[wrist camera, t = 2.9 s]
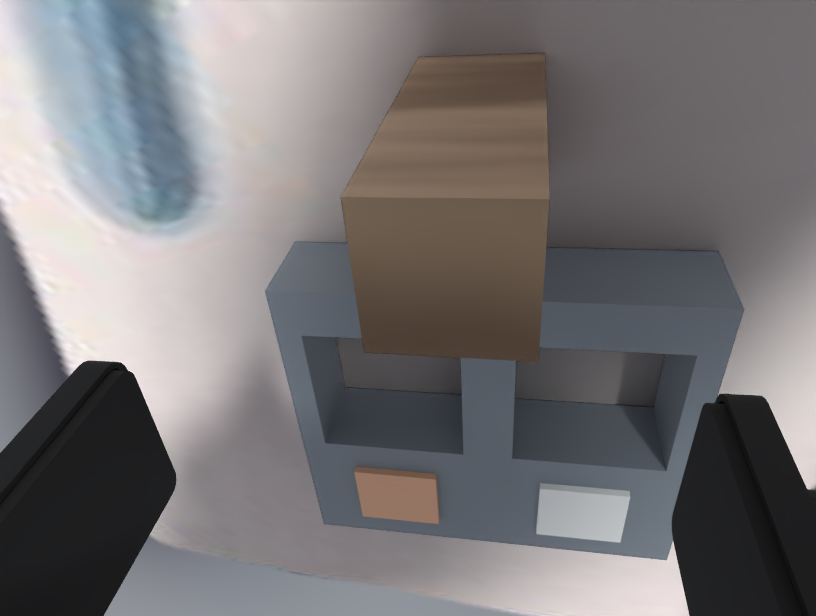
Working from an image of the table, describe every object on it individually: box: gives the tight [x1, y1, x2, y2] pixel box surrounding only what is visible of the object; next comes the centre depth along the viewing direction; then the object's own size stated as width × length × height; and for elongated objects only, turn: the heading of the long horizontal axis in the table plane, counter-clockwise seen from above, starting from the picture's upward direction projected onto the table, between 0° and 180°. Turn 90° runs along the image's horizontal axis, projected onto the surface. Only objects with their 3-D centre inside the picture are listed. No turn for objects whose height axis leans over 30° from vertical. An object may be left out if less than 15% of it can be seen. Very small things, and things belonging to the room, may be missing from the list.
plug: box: [341, 53, 550, 362], centre depth 17 cm, size 4×4×10 cm
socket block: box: [265, 242, 744, 560], centre depth 26 cm, size 14×16×4 cm
